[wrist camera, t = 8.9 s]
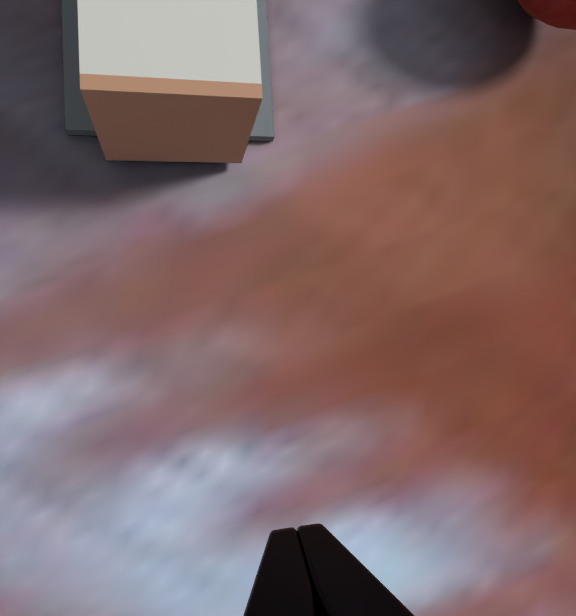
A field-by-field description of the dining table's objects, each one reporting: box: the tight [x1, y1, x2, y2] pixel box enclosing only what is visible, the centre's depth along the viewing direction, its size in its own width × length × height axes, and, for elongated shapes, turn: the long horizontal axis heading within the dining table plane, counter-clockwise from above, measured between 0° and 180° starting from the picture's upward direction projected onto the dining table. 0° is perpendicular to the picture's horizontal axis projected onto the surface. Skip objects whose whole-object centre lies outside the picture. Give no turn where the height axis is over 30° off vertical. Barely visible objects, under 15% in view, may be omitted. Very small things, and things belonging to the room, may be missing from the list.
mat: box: [62, 0, 274, 141], centre depth 17 cm, size 8×7×1 cm
